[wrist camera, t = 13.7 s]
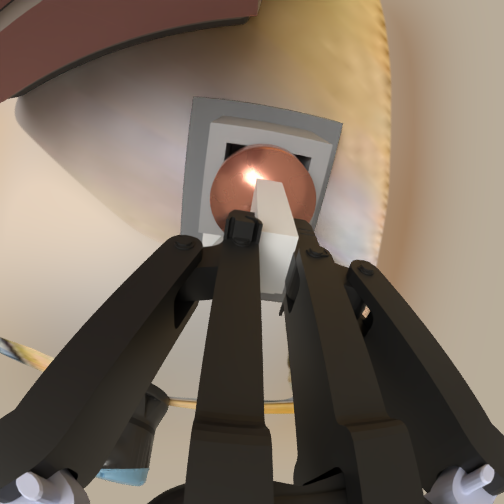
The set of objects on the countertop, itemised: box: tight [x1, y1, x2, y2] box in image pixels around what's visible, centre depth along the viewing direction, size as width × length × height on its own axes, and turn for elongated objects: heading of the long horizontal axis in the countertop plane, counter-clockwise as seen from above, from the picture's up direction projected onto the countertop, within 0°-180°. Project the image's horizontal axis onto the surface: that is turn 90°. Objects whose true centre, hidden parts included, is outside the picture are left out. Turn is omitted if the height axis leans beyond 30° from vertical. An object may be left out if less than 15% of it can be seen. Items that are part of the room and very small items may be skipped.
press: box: [180, 97, 343, 302], centre depth 25 cm, size 22×14×10 cm, turn 170°
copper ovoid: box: [210, 144, 316, 232], centre depth 20 cm, size 6×6×8 cm
